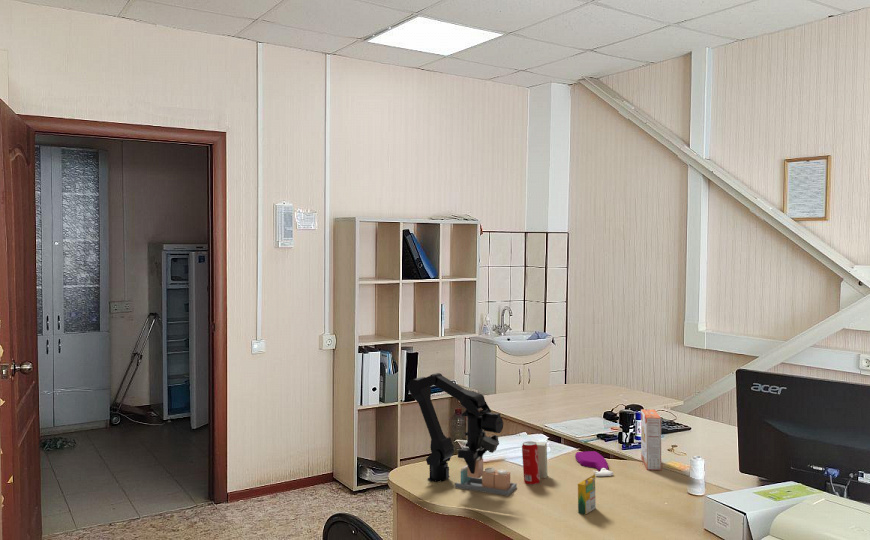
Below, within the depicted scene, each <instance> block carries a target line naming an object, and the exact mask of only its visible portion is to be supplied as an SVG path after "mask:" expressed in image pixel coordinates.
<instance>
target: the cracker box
mask: <svg viewBox="0 0 870 540" xmlns="http://www.w3.org/2000/svg"><path fill="white" fill-rule="evenodd" d="M640 439H641V440H640V445H641V447H640V449H641V451H640V452H641V453H640V454H641V457H640V459H641V461H642V462H643V464H644V466H645V469H646V470H647V471H662V417H661V416H660V415H659V414H658V412H657V411H656V409H651V408H649V409H647V408H646V409H645V408H641V409H640Z"/></svg>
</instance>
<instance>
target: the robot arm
mask: <svg viewBox="0 0 870 540" xmlns="http://www.w3.org/2000/svg"><path fill="white" fill-rule="evenodd" d="M433 386H435V387H436V388H438V389H439V390H441V391H442V392H444V393H446V394H447V395H448V396H451V397H452V398H453V399H456V400H457V401H459V403H460V405H461V406H462V407H463V408H464V409H465V411H464V412H463V413H461V416H462V417H466V432H465V433H464V436H467V438H466V440H467V441H466V443H465V444H464V445H465V447H464V446H463V447H462V448H460V449H459V450H458V451H457V458H458V459H463V461H464V462H465V463H466V465H468V468H469V470H470V472H471V473H472V474H474V472H475V465H476V459H477V458H479V457H480V458H484V457H483V456H484V454H486V453H487V452H488V453H491V454H493V453H494V452H495V451H497V448H498V446H499V445H500V441H499V436H498V435H496V434H501V432H502V430H503V429H504V421H503V418H502V417H501V413H499V412H498V413H497V412H496V413H494V412H492V409H491V408H490V406H489V405H488V403H487V402H486V400H485V396H484V395H483V394H482V393H479V392H477V391H474V390H469V389H465V388H464V387H462V386H460V385H458V384H457V383H455V382H454V381H452V380H450V379H448V377H445V376H444V375H443V374H442V373H440V372H435V373H433V374H430V375H429V376H426V377H425V376H422V377H421V376H420V377H417V378H413V379H411V380H410V381H409V382H408V385H407V388H408V391H409V393H410V395H411V397H412V398H413V399H414V400H415V401H416V403H418V406H419V408H420V412H421V414H422V416H423V419H424V422H425V425H426V428H427V432H428V434H429V437H430V446H429V447H430V452H431V453H430V455H428V456H427V458H425V461H426V464H427V465H429V477H427V481H431V482H438V483H439V482H445V481H447V480H448V479H449V478H450V477H451V476H450V467H449V462H450V461H451V459H452V457H453V455H454V453H455V450H454V449H455V446H454V444H453V441H452V438H451V437H450V436H449V437H447V436H445V434H444V432H443V430H442V426H441V424H440V421H439V419H438V416H437V413H436V410H435V408H434V404H433V402H432V399H431V395H432V387H433ZM487 432H488V433H495V434H493V435H492V436H487V435H486V433H487Z"/></svg>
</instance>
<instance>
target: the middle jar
mask: <svg viewBox="0 0 870 540" xmlns="http://www.w3.org/2000/svg"><path fill="white" fill-rule="evenodd" d="M497 471H498V470H497V469H495V468H493V467H487V468H484V470H483V472H482V476H481V478H482V487H489V488H495V487H494V474H496V473H497Z"/></svg>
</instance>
